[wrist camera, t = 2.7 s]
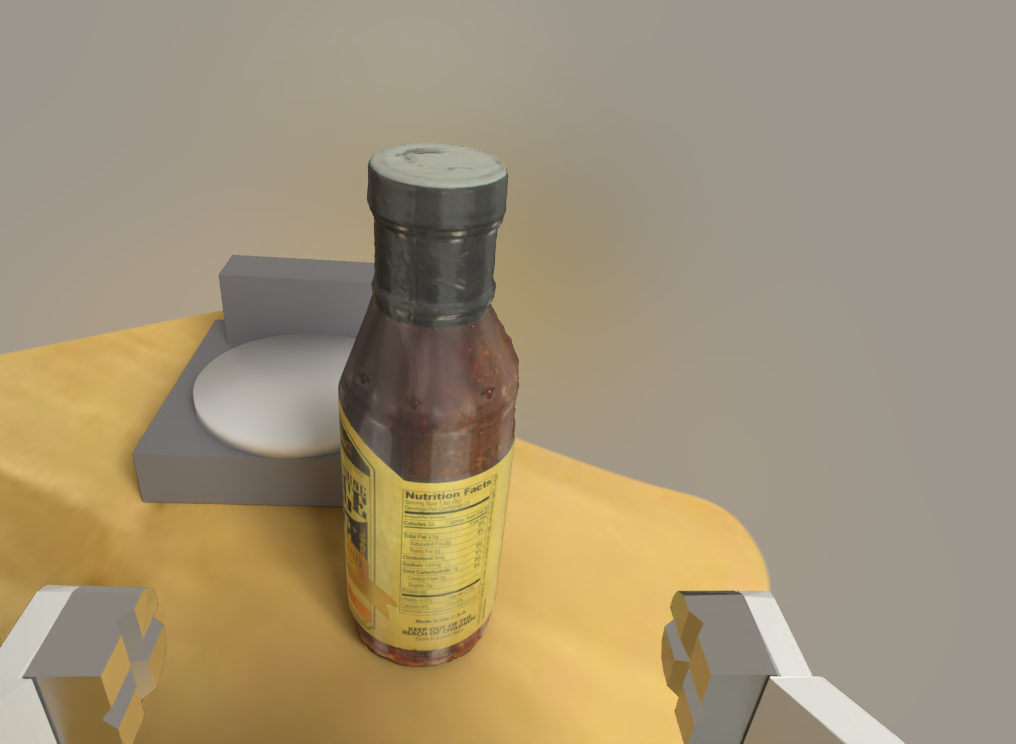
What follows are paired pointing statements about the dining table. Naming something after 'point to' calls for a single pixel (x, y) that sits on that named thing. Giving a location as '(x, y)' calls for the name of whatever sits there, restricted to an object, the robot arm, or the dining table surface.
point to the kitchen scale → (261, 390)
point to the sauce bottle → (428, 409)
